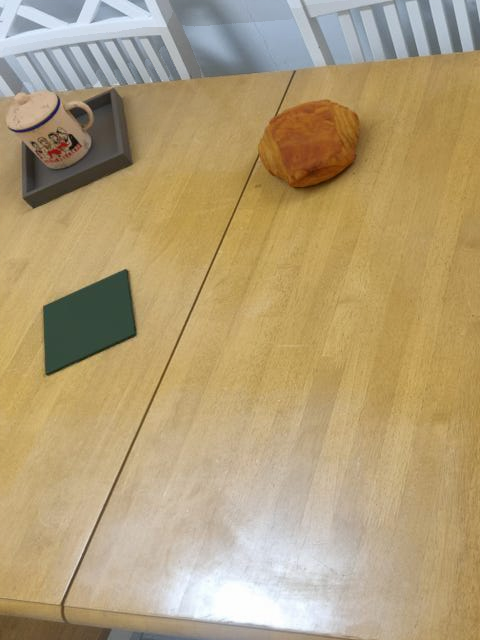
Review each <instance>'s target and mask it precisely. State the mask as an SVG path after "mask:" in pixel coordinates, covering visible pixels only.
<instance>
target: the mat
mask: <svg viewBox="0 0 480 640" xmlns="http://www.w3.org/2000/svg"><path fill="white" fill-rule="evenodd" d="M129 277H130V276H129V272H128V269H127V268H124V269H121V270H119V271H118V272H117V271H116V273H113V274H111V275H109V276H106V277H105V278H102V279H100V280H97V281H95V282H93V283H91V284H88V285H87V286H85V287H81V288H80V289H78V290H75V291H73V292H72V293H69V294H66V295H64V296H62V297H59V298H58V299H55V300H53V301H51V302H49V303H46V304H44V305H43V306H42V315H43V316H42V321H43V343H44V345H43V346H44V347H43V348H44V372H45V373H44V374H45V376H50V375H52V374H54V373H56V372H59V371H61V370H63V369H65V368H67V367H70V366H72V365H75V364H76V363H79V362H81V361H84V360H85V359H87V358H89V357H91V356H94V355H96V354H98V353H101V352H103V351H104V350H107V349H110V348H111V347H114V346H116V345H118V344H120V343H122V342H125V341H127V340H129V339H131V338H133V337H136V336H137V331H136V323H135V316H134V308H133V300H132V299H133V298H132V293H131V286H130V278H129Z"/></svg>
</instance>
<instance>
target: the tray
mask: <svg viewBox="0 0 480 640" xmlns="http://www.w3.org/2000/svg"><path fill="white" fill-rule="evenodd" d="M82 102H83V103H85V104H87V105H88V106H89V108H90V109H91V111H92V113H93V118H94V121H93V124H92V126H91V127H90V128H89V129H87V130H86V132H87V133H88V134H89V136H90V137H91V141H92V142H91V147H90V149H89V151H88V152H87V154H86V155H85V156H84V157H83V158H82V159H81V160H79V161H78V162H77V163H75V164H73V165H71V166H69V167H66V168H63V169H51V168H49V167H47V166H46V165H45V164H44V163H43V162H42V161H41V160H40V159H39V158H38V156H37V155H36V154H35V153H34V152H33V151H32V150H31V149H30V148H29V147H28V146H27V145H26V144H25V143H24V142H23V141H22V140H21V139H20V140H21V195H22V197H21V198H22V199H23V200H24V201H25V202H26V204H28V206H30V207H31V208H32V209H35V208H37V207H39V206H42V205H44V204H47V203H48V202H50V201H53V200H55V199H58V198H59V197H61V196H64V195H66V194H68V193H71V192H73V191H75V190H77V189H79V188H82V187H84V186H86V185H89V184H91V183H93V182H96V181H97V180H99V179H102V178H104V177H107V176H109V175H111V174H113V173H116V172H117V171H120V170H122V169H125V168H127V167H129V166H131V165H133V157H132V152H131V144H130V139H129V138H130V137H129V133H128V127H127V122H126V119H127V118H126V114H125V107H124V101H123V98H122V96H121V95H120V94H119V92H118V91H117V89H116V88H115V87H111V88H110V89H107V90H106V91H103V92H100V93H99V94H96V95H94V96H92V97H90V98H88V99H85V100H83V101H82ZM68 111H69V112H70V113H71V114H72V116H73V117H74V118H75V119H76V120H77V121H78V123H79V124H80V125H83V124H85V123H86V122H87V121H88V119H89V115H88V113H87V112H86V111H85V110H84V109H82V108H79V107H75V108H72V109H70V110H68Z"/></svg>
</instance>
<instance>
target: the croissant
mask: <svg viewBox="0 0 480 640" xmlns="http://www.w3.org/2000/svg"><path fill="white" fill-rule="evenodd" d="M360 123H361V122H360V118H359V115H358V114H357V112H355V111H354V110H352V109H350V108H349V107H347V106H345V105H342V104H339V103H337V102H333V101H331V100H330V99H326V98H325V99H320V100H313V101H308V102H304V103H303V102H302V103H299V104H297V105H295V106H293V107H290V108H287V109H285V110H283V111H282V112H281V113H278V114H277V115H275V116H273V117H271V119H270V120H269V121H268V125H267V126H266V127H265V129H264V132H263V134H262V137H261V138H260V140H259V142H258V145H257V152H258V156H259V158H260V161H261V163H262V164H263V167H264V168H265V169H266V170H267V172H268V173H269V175H271V176H273V177H277V178H280V179H282V180H283V181H284V182H285V183H286V184H288V186H289V187H290V188H304V187H310V186H313V185H314V186H315V185H318V184H319V183H322V182H325V181H328V180H330V179H332V178H334V177H335V176H337V175H338V174H340V173H341V172H343V170H345V169H346V168H347V167H349V166H350V165H351V164H352V163H353V162H354V161H355V160H356V159H357V151H356V148H355V147H357V146H358V143H359V139H360V136H361V133H360V125H361V124H360Z"/></svg>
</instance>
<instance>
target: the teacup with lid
mask: <svg viewBox="0 0 480 640" xmlns="http://www.w3.org/2000/svg"><path fill="white" fill-rule="evenodd" d="M13 100H14V104H13V105H12V106H11V107H10V108H9V109H8V111H7V113H6V116H5V123H6V126H7V129H8V130H9V131H10V132H13V133H15V134H16V136H17V137H18V138H19V139H20V140H22V141H23V142H24V143H25V144H26V145H27V146H28V147H29V148H30V149H31V150H32V151H33V152H34V153H35V154H36V155H37V156H38V158H39V159H40V160H41V161H42V162H43V163H44V164H45V165H46V166H47V167H49V168H51V169H63V168H66V167H69V166H71V165H73V164H75V163H77V162H78V161H79V160H81V159H82V158H83V157H84V156H85V155H86V154H87V152H88V151H89V149H90V147H91V142H92V141H91V137H90V136H89V134H88V133H87V132H86V130H87V129H89V128H90V127H91V126H92V124H93V121H94V118H93V113H92V111H91V109H90V108H89V106H88V105H87V104H85V103H83V101H80V100H71V101H69V102H67V103H65V104H64V103H63V102H62V101H61V98H60V96H59V95H58V94H56V93H54V92H53V91H50V90H38V91H34V92H31V93H28V94H27V93H25V92H24V91H21V92H18V93H17V94H15V95H14V97H13ZM75 107H79V108H82V109H84V110H85V111H86V112H87V113H88V115H89V119H88V121H87V122H86V123H85V124H83V125H80V124H79V123H78V121H77V120H76V119H75V118H74V117H73V116H72V114H71V113H70V112H69V111H68V110H70V109H72V108H75Z"/></svg>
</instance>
